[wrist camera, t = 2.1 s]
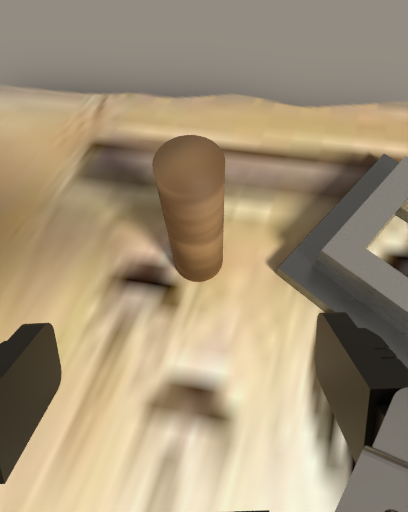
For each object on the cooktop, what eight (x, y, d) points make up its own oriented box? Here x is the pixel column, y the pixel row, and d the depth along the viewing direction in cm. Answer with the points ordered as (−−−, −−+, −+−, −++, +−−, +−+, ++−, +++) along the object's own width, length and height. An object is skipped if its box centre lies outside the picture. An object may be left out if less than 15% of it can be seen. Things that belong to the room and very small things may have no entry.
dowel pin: (165, 261, 29) (137, 164, 19) (197, 230, 30) (188, 124, 20) (199, 291, 28) (189, 205, 18) (232, 258, 29) (240, 160, 19)
